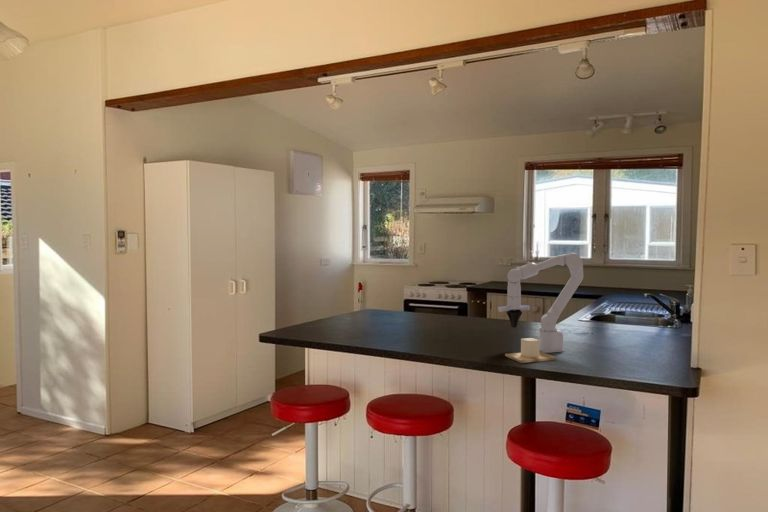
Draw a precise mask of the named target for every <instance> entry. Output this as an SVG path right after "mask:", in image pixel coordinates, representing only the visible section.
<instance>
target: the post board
mask: <svg viewBox="0 0 768 512" xmlns="http://www.w3.org/2000/svg"><path fill="white" fill-rule="evenodd" d="M504 356H505V357H507V358H509V359H511V360H512V361H514V362H518V363H520V364H525V363H534V362H535V363H536V362H547V361H556V360H557V357H556V356H553V355H551V354H549V353H544V352H542V351H539V356H538V357H526V356H523V355H521V352H512V353H505V354H504Z"/></svg>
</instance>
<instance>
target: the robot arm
mask: <svg viewBox="0 0 768 512" xmlns="http://www.w3.org/2000/svg"><path fill="white" fill-rule="evenodd" d="M583 262H584V261H583V260H582V258H581V256H580V255H579V254H578V253H576V252H568V253H565V254H560V255H556V256H554V257H551V258H548V259H546V260H543V261H541V262H537V263H536V262H530V261H528V262H526V264H524V265H522V266H516V267H515V268H512V269H510V270H509V271H508V272H507V274H506V277H507V290H506V291H507V298H506V299H507V305H503V306H498V307H497V311H498V312H499V313H502V312H506V315H507V316H508V319H509V323H510V325H511V328H517V326H518V322H519V320H520V318H521V316H522V314H523V312H522V311H530V310H531V308H530V307H531V306H530V305H528V304H527V305H525V304H524V305H522V301H521V300H522V293H521V292H522V286H521V280H526V279H528V278H529V279H530V278H531V277H534V276H537V275H539V274H538V273H539V272H540V271H542V270H545V269H548V268H552V267H555V266H561V267H563V266H564V267H565V265H566V266H567V268H568V269H569V273H570V277H569V278H568V281H567V282H566V284H565V285H564V287H563V289H562V290H561V292H559V294H558V296H557V297H556V299H555V301H554V302H553V304H552V305H551V306H550V308H549V309H548V311H547V312H546V313H544V314H543V315H542V316H541V318H540V328H539V339H538V340H539V351H540V352H543V353H545V354H549V353H559V352H560V353H561V352H563V353H564V352H565V350H564V334H563V332H562V331H561V330H560V329H558V328H556V326H557V322H558V319H559V318H560V316H561V314H562V312H563V311H564V309H565V307H566V306H567V304H568V303H569V301H570V300H571V299H572V297H573V295H574V294H575V292H576V291H577V289H578V287H579V286H580V284H581V283H582V281H583V280H584V263H583Z"/></svg>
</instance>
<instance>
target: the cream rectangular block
mask: <svg viewBox="0 0 768 512" xmlns="http://www.w3.org/2000/svg"><path fill="white" fill-rule="evenodd" d="M520 353H521V355H523V356H526V357H538V356H539V339H537V338H533V337H527V338H520Z"/></svg>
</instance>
